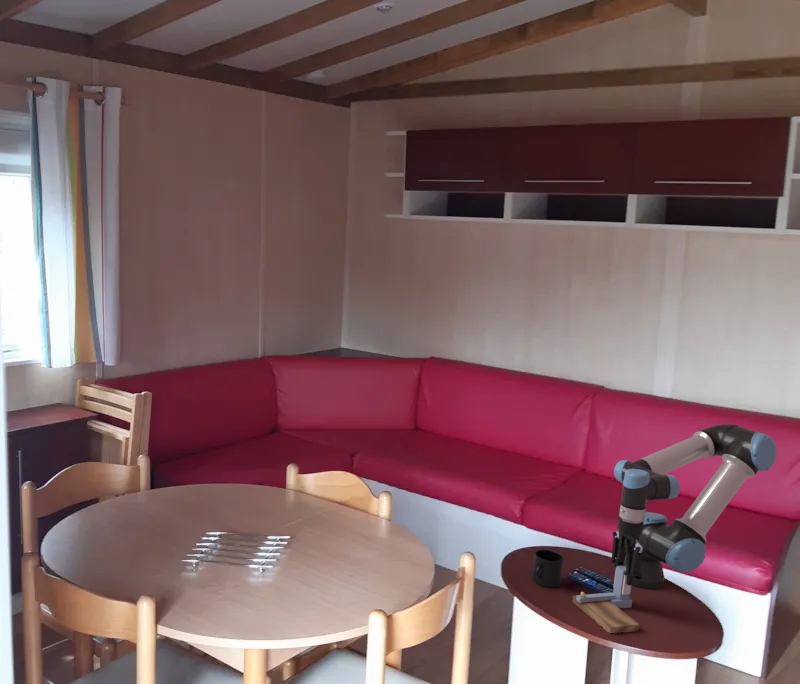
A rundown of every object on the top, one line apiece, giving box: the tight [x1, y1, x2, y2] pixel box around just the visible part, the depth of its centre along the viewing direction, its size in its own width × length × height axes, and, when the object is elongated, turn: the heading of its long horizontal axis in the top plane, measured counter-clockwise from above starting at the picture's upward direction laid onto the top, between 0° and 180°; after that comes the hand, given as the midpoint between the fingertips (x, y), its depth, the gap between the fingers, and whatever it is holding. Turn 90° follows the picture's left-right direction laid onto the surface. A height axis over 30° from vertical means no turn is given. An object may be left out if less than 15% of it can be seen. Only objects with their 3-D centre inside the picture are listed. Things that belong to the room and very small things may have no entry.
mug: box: [531, 549, 565, 588], centre depth 254 cm, size 9×12×9 cm
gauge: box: [575, 565, 633, 609], centre depth 241 cm, size 18×5×12 cm, turn 110°
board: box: [572, 595, 640, 634], centre depth 235 cm, size 10×20×2 cm, turn 20°
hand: (621, 590), depth 243 cm, fingers closed on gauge, 3 cm apart
